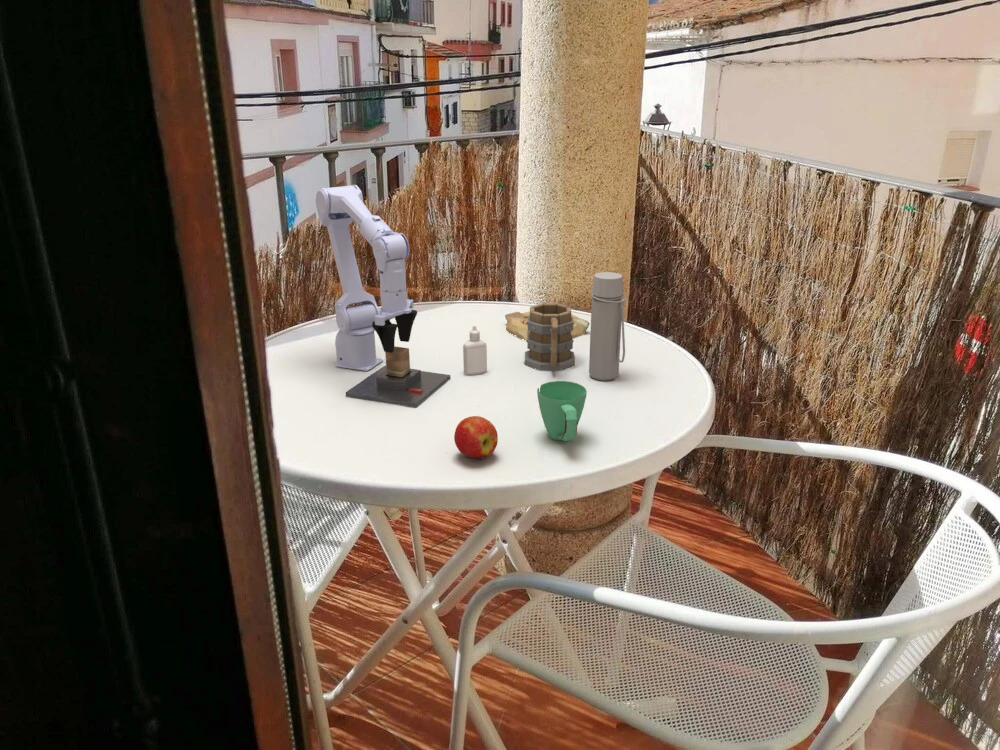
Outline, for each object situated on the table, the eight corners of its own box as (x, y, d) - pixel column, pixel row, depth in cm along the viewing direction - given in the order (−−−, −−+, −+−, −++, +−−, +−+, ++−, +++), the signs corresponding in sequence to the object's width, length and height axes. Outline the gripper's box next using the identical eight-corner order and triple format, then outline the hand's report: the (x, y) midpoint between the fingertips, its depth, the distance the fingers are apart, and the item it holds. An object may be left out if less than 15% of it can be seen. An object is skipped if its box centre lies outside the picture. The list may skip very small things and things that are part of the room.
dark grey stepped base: (345, 396, 174) (344, 382, 173) (384, 369, 190) (383, 356, 188) (416, 407, 168) (415, 393, 167) (450, 378, 183) (449, 365, 182)
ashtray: (592, 343, 207) (592, 326, 205) (504, 344, 207) (504, 326, 206) (584, 317, 229) (584, 301, 227) (505, 317, 229) (505, 301, 228)
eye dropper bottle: (485, 376, 185) (484, 329, 181) (462, 375, 186) (461, 328, 181) (487, 369, 189) (487, 323, 185) (465, 368, 190) (464, 322, 185)
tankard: (524, 352, 200) (524, 297, 194) (572, 353, 200) (574, 297, 194) (524, 381, 181) (524, 321, 176) (577, 382, 181) (579, 322, 175)
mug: (532, 426, 159) (532, 382, 155) (578, 423, 160) (579, 379, 156) (546, 459, 145) (547, 412, 141) (596, 455, 147) (598, 408, 143)
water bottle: (581, 377, 184) (585, 276, 175) (600, 368, 189) (605, 269, 180) (613, 386, 178) (618, 282, 169) (631, 377, 183) (638, 276, 174)
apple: (470, 470, 142) (469, 431, 139) (446, 453, 148) (445, 416, 145) (505, 458, 146) (504, 420, 143) (480, 442, 152) (479, 405, 149)
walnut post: (386, 374, 176) (385, 351, 174) (395, 369, 180) (393, 346, 178) (402, 377, 175) (400, 353, 173) (410, 371, 178) (408, 348, 176)
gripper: (393, 299, 162) (397, 358, 167) (424, 282, 175) (426, 338, 180) (364, 296, 165) (369, 355, 170) (396, 279, 177) (400, 335, 182)
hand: (396, 346), depth 175 cm, fingers open, 7 cm apart
